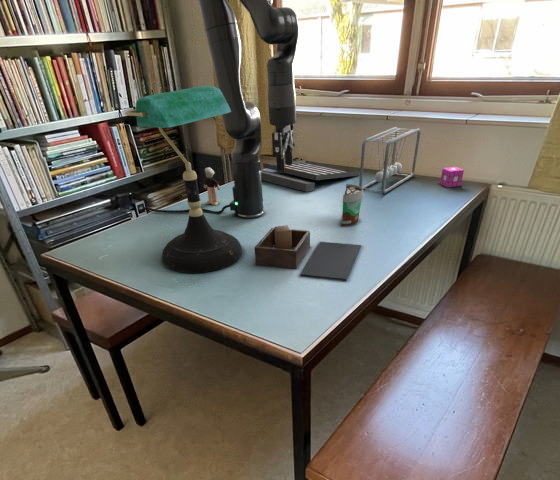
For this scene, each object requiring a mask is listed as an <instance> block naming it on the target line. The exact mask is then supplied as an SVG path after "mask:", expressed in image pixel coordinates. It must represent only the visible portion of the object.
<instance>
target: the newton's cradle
mask: <svg viewBox="0 0 560 480" xmlns="http://www.w3.org/2000/svg"><path fill="white" fill-rule="evenodd" d="M400 130H402V131H405V132H403V133H401V134H399V133H400ZM415 134H417V135H416V140H415V147H414V155H413V161H412V167H411V172H410V174H406V173H405V174H404V173H400V172H401V171H402V167H403V166H402V164H401V163H400V158H401V155H402V153H403V149H404V146H405V142H406V139H407V138H408V137H410V136H412V135H415ZM389 135H390V136H389ZM387 136H388V138H389V139H388V138H384V137H387ZM393 136H394V137H393ZM420 138H421V129H420V128H416V129H414V128H413V129H412V128H402V127H401V128H399V127H397V126H395V127H394V126H393V127H392V128H389V129H387V130H385V131H382V132H380V133H377V134H375V135H372V136H370V137H367V138H365V139H364V140H363V141H362V145H361V156H360V168H359V182H358V186H360V187H362V189H363V191H364V190H365V191H371V192H378V193H382V194H383V195H386V194H387V193H389V192H390V191H392V190H393V189H396V188H397V187H398V186H400V185H401V184H403V183H405V182H407V181H408V180H410V179H411V178H413V176H414V175H415V172H416V165H417V158H418V151H419V145H420ZM380 139H381V140H380ZM384 140H385V141H384ZM402 140H404V141H403V144H402ZM399 141H400V143H399V145H398V142H399ZM367 143H378V144H377V148H378V149H377V150H378V151H377V152H378V153H380V149H379V147H380V146H379V144H380V143H381V144H386V146H385V150H384V151H385V153H384V152H382V153H383V154H382V160H383V163H382V167H381V166H380V165H381V164H380V163H381V162H380V161H378V165H379V166H378V167H379V171H378V172H376V173H375V176H374V180H372V181H370V182H368V183H366V184H364V185H363V178H364V166H365V154H366V153H365V152H366V144H367ZM401 144H402V148H401V152H400V155H399V159H398V153H399V149H400V147H401ZM397 145H398V149H397ZM390 146H391V147H392V148H391V149H390ZM389 152H390V153H389ZM390 157H391V162H390V165H389V159H390ZM381 168H382V169H381ZM395 175H396V176H397V175H399V176H404V178H402V179H401V180H399V181H398V182H396V183H394V184H392V185H390V186H389V187H388V188H386V180H388V178H391V177H393V176H395ZM405 176H406V177H405ZM377 183H381V188H380V190H378V189H377V190H376V189H372V188H371V189H370V188H369V187H371V186H373V185H374V184H377Z"/></svg>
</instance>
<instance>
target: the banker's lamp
mask: <svg viewBox="0 0 560 480" xmlns="http://www.w3.org/2000/svg"><path fill="white" fill-rule="evenodd" d="M229 112H231V110H230V107H229V105H228V103H227V101H226V99H225V98H224V96H223V94H222V92H221V91H220V89H218V87H216V86H214V85H201V86H194V87H189V88H183V89H176V90H170V91H165V92H159V93H154V94H153V93H152V94H149V95H146V96H141V97H140V98H138V100H136V102H135V109H129V110H126V111H125V115H126V116H129V117H136V125H137V126H138V127H146V128H158V130H159V132H160V134H161V135H162V136H163V137H164V139H165V140H166V141H167V142H168V144H169V145H170V147H171V148H172V149H173V151H174V152H175V153H176V154H177V155H178V157H179V158H180V159H181V160H182V161H183V163H184V166H185V171H183V173H182V179H183V182H184V187H185V188H184V189H185V193H186V199H187V200H186V201H187V205H188V207H189V209H190V210H189V212H188V214H189V215H188V220H187V223H186V227H185V230H184V232H183V233H181V234H179V235H177V236H175V237H173V238H172V239H171V240H170V241H168V242H167V243H166V245H165V246H164V247H163V248H162V253H161V254H162V255H161V259H162V263H163V265H164V266H165V267H167V268H168V269H170V270H172V271H176V272H180V273H185V274H187V273H188V274H200V273H209V272H210V273H211V272H214V271H218V270H219V271H220V270H222V269H225V268H227V267H230V266H232V265H233V264H235V263H236V262H238V261H239V260H240V258H241V257H242V256H243V247H242V245H241V242H240V241H239V239H238V238H236V237H235V236H233V234H230V233H229V232H228V233H227V232H225V231H222V230H220V229H219V230H218V229H215V228H213V227H212V226H211V224H210V222H209V221H208V220H207V218H206V216H205V214H204V213H203V212H204V211H202V209H203V208H201V206H202V200H201V197H200V192H199V191H200V189H199V185H198V175H197V172H196V171H195V170H194V169H193V170H192V163H191V162H190V161H188V160H187V159H186V157H184V155H183V153H181V151H180V150H179V148H177V146H176V145H175V143H174V142H173V141H172V139H170V137H169V136H168V134H167V133H166V132H165V131H164V130H163V129H167V128H173V127H177V126H183V125H185V124H190V123H194V122H197V121H201V120H206V119H210V118H213V117H217V116H222V114H226V113H229Z"/></svg>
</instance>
